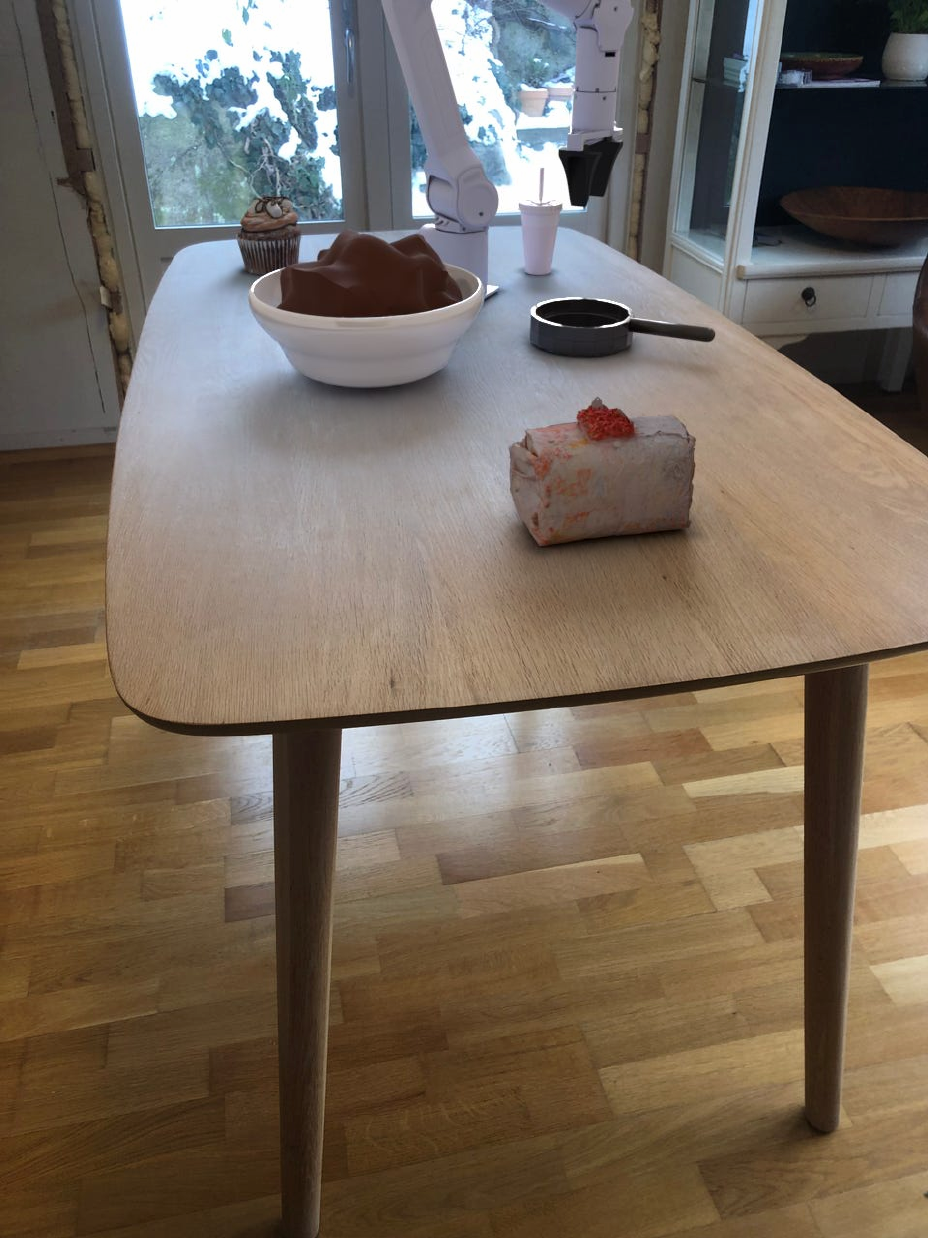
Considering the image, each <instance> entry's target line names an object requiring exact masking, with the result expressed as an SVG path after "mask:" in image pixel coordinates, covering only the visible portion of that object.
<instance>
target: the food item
mask: <svg viewBox="0 0 928 1238" xmlns="http://www.w3.org/2000/svg"><path fill="white" fill-rule="evenodd" d="M524 434H525V435H524V437H523V438H522V439H521V441H520V442H519V441H514V442H513V443H512V444H511V445H509V446H508V450H509V460H510V461H509V484H510V485H509V486H510V487H509V492H510V494H511V497H512V501H513V504H514V507H515V510H516V513H517V515H518V517H519V519H520V520H521V521H522V522H523V523H524V525H525V527H526V528H527V530H528V532H529V533H530V535H531V536H532V537H533V539H534V540H535V541H536V543H537V544H538V546H539V547H545V546H550V545H557V544H565V543H569V542H576V541H580V540H585V539H598V538H606V537H608V538H609V537H611V536H617V537H618V536H624V535H626V536H627V535H640V534H647V533H656V532H663V531H674V530H683V529H690V527H691V524H692V520H690V509H691V508H692V505H693V495H694V489H695V488H694V487H695V485H694V483H693V480H694V478H695V473H696V472H695V471H696V462H695V450H696V448H695V446H696V443H697V442H696V441H697V439H696V437H695V436H694V435H691V434H690V432H689V431H688V429H687V427H686V425H685V424H684V423H683V422H682V421H680V419H679V418H678V417H677V416H675V415H674V414H658V415H652V416H649V415H648V416H637V417H636V416H635V417H629V416H628V415H627V414H626V413H625V412H624V411H623V410H622V409H621V408H618V407H615V408H614V407H613V408H609V407H608V406H607V405H606V404H605V403H604V404H603V400H602V399H601V398H600V397H599V396H596V397H595V398H594V399H593V400H592V401H591V403H590V405H588V406H587V407H586V408H584V409H581V410H578V411H577V414H576V421H572V422H562V423H556V424H551V425H547V426H546V427H537V428H527V429H525V430H524Z"/></svg>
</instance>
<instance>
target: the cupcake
mask: <svg viewBox="0 0 928 1238" xmlns="http://www.w3.org/2000/svg"><path fill="white" fill-rule="evenodd" d="M293 206H294V205H293V202H292V201H291V199H290V197H288V196H283V195H282V196H270V195H267V194H262V196H260V197H255V196H254V197H253V202H252V203H251V205H249V207H248V208H247V209H246V212H245V213H244V216H243V217H242V218H241V220H240V222H239V224H240V226H241V228H240V229H239V230H238V231H237V233H236V234H235V239H236V241H237V245H238V248H239V252H240V255H241V258H242V261H243V262H242V263H243V265H244V267H245V268H244V269H245V271H246V272H247V273H250V274H253V275H260V276H264V275H266V274H268V273H270V272H273V271H275V270H278V269H281V268H284V267H287V266H290V265H293V264H299V260H300V248H301V247H300V245H301V240H302V233H303V232H302V229H301V226H300V225H299V223H298V222H299V217H298V216H299V215H297V213H296V212H294V211H293V209H294V208H293Z"/></svg>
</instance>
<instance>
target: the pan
mask: <svg viewBox="0 0 928 1238" xmlns="http://www.w3.org/2000/svg"><path fill="white" fill-rule="evenodd" d="M629 318H636V315H635V312H634V310H633V309H632V308H630V307H628V306H627V305H625V304H623V303H618V302H615V301H611V300H608V299H603V298H602V299H600V298H593V297H564V298H563V297H562V298H553V299H549V300H546V301H545V300H544V301H542V302H539V303H537V304H535V305H534V306H533V307H531V308H530V317H529V341H530V342H532V343H533V344H534V345H535V346H536V347H538V348H540V349H541V350H544V351H546V352H549V353H552V354H557V355H562V356H568V357H580V358H581V357H582V358H587V357H588V358H590V357H603V356H608V355H612V354H616V353H618V352H620V351H622V350H624V349H627V348H628V347H629V346H630V345H631V344H632V343H633V340H634V332H630V331H629V326H630V321H631V320H630V319H629Z"/></svg>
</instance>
